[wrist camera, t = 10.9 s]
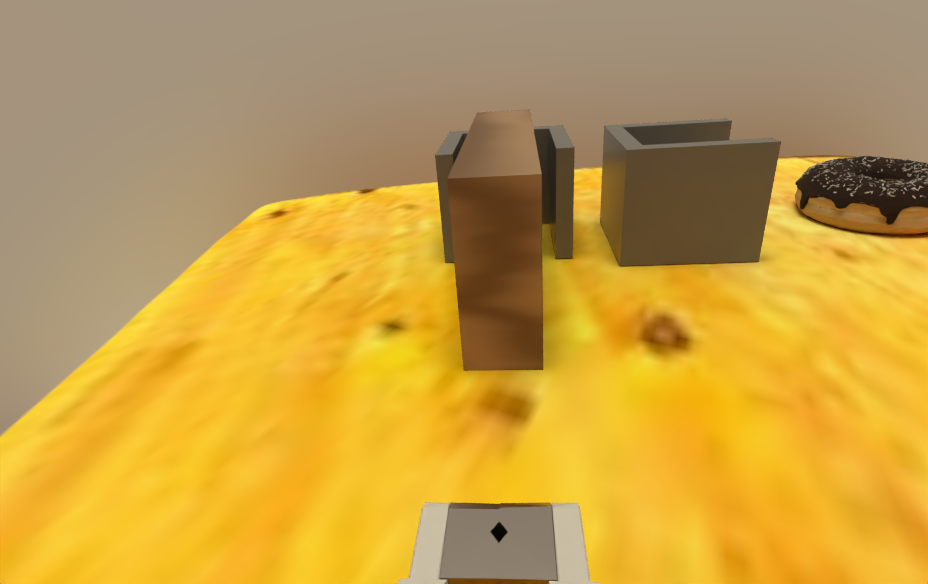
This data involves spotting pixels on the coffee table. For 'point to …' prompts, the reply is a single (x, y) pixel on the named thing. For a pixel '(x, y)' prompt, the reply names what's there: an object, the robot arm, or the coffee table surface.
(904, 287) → the coffee table surface
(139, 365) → the coffee table surface
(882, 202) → the donut
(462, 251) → the slat
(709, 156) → the end cap
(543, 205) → the end cap
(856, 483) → the coffee table surface
